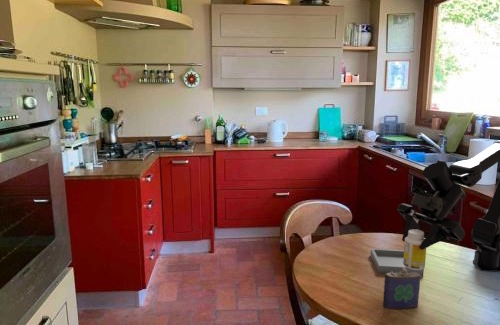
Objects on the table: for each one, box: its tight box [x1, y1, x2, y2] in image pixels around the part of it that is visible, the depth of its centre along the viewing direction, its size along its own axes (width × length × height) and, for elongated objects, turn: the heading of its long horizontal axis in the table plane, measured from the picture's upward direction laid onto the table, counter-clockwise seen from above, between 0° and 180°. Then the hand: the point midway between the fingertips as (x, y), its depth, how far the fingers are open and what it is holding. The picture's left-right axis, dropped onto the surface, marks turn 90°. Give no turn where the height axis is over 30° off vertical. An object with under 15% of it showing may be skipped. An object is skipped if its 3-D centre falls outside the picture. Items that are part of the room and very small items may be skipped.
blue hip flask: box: [382, 267, 422, 311], centre depth 98 cm, size 9×3×11 cm, turn 95°
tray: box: [370, 248, 425, 277], centre depth 122 cm, size 13×13×2 cm
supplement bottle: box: [403, 229, 427, 270], centre depth 106 cm, size 6×6×10 cm
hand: (411, 244), depth 105 cm, fingers closed on supplement bottle, 6 cm apart
